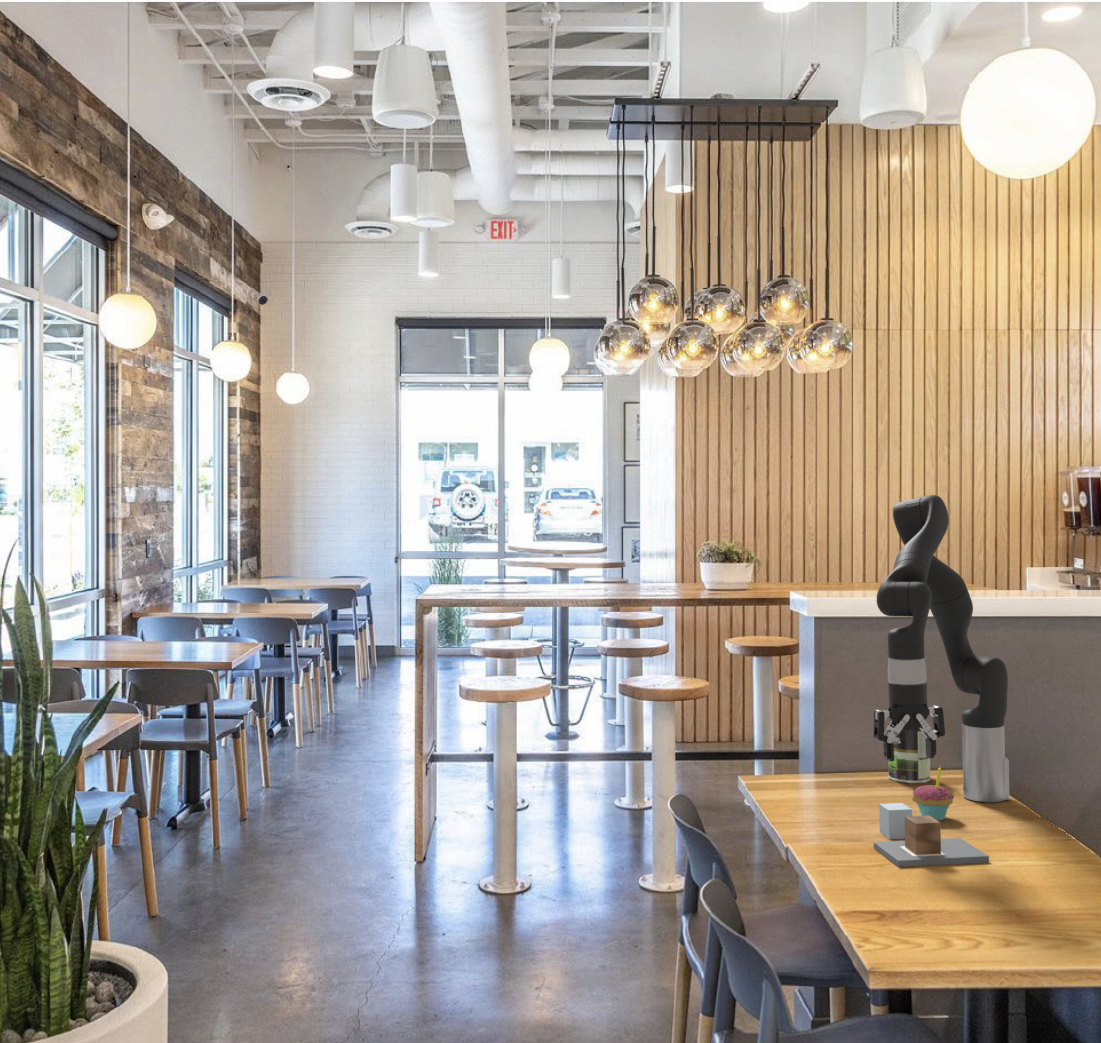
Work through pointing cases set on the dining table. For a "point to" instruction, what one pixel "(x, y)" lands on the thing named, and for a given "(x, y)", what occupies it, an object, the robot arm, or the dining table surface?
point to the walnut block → (922, 835)
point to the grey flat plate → (950, 854)
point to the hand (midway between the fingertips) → (910, 759)
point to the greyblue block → (893, 819)
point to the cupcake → (933, 799)
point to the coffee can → (910, 758)
